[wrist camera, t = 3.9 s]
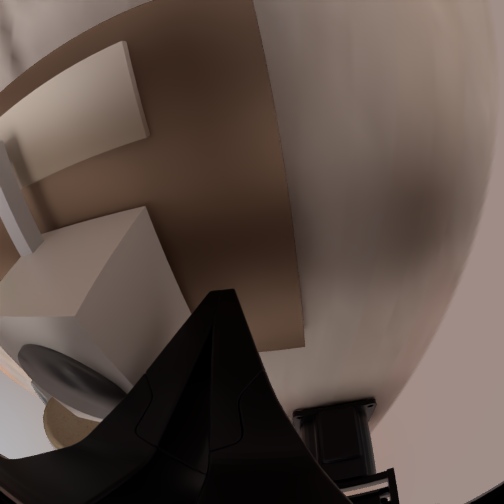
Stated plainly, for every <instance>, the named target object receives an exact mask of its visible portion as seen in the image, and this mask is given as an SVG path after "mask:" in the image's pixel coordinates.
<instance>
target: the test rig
mask: <svg viewBox="0 0 504 504" xmlns="http://www.w3.org/2000/svg"><path fill="white" fill-rule="evenodd" d="M2 140H3V142H4V145H5V149H6V152H7V155H8V158H9V161H10V163H11V166H12V169H13V172H14V174H15V177H16V180H17V182H18V185H19V187H20V190H21V192H22V194H23V197H24V199H25V201H26V204H27V206H28V208H29V210H30V212H31V215H32V217H33V219H34V221H35V223H36V225H37V227H38V229H39V231H40V233H41V234H43V233H47V232H50V231H53V230H57V229H60V228H63V227H67V226H70V225H74V224H77V223H81V222H84V221H88V220H91V219H95V218H99V217H103V216H106V215H110V214H114V213H118V212H122V211H126V210H130V209H134V208H139V207H143V206H146V209H147V211H148V214H149V217H150V219H151V222H152V224H153V227H154V229H155V232H156V234H157V237H158V239H159V242H160V244H161V247H162V249H163V251H164V254H165V256H166V259H167V261H168V263H169V266H170V268H171V270H172V273H173V275H174V277H175V279H176V282H177V284H178V286H179V288H180V291H181V293H182V295H183V297H184V299H185V301H186V304H187V306H188V308H189V310H190V312H191V314H192V313H193V311H194V310H195V309H196V308H197V306H198V305H199V304H200V303H201V301H202V300H203V299H204V298H205V296H206V295H207V294H208V293H209V292H210V291H213V290H223V289H231V288H234V289H235V291H236V293H237V296H238V299H239V302H240V304H241V307H242V310H243V313H244V315H245V318H246V321H247V323H248V326H249V329H250V332H251V334H252V337H253V340H254V342H255V345H256V347H257V350H258V352H264V351H274V350H283V349H291V348H299V347H305V338H304V326H303V315H302V304H301V294H300V284H299V275H298V266H297V257H296V248H295V240H294V232H293V224H292V217H291V209H290V202H289V195H288V188H287V181H286V174H285V167H284V161H283V154H282V148H281V142H280V136H279V130H278V124H277V118H276V112H275V107H274V101H273V96H272V91H271V85H270V80H269V75H268V70H267V65H266V60H265V55H264V50H263V45H262V41H261V36H260V32H259V27H258V23H257V18H256V14H255V10H254V5H253V1H252V0H153V1H150V2H147V3H145V4H142V5H140V6H137V7H135V8H133V9H130V10H128V11H126V12H123V13H121V14H119V15H117V16H115V17H112V18H110V19H108V20H106V21H104V22H102V23H100V24H98V25H96V26H95V27H93V28H91V29H89V30H87V31H85V32H84V33H82V34H80V35H78V36H77V37H75V38H73V39H72V40H70V41H68V42H67V43H65V44H63V45H62V46H60V47H59V48H57V49H56V50H54V51H53V52H51V53H50V54H48V55H47V56H45V57H44V58H43V59H41V60H40V61H38V62H37V63H36V64H34V65H33V66H32V67H30V68H29V69H28V70H26V71H25V72H24V73H23V74H21V75H20V76H19V77H18V78H16V79H15V80H14V81H13V82H12V83H10V84H9V85H8V86H7V87H6V88H5V89H4V90H2V91H1V92H0V141H2ZM20 257H21V256H20V254H19V252H18V250H17V249H16V247H15V245H14V243H13V241H12V239H11V237H10V235H9V233H8V232H7V230H6V228H5V225H4V223H3V221H2V219H1V217H0V281H1V280H2V279H3V278H4V276H5V275H6V274H7V273H8V271H9V270H10V269H11V268H12V267H13V265H14V264H15V263H16V262H17V261H18V260H19V258H20Z"/></svg>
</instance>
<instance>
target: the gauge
mask: <svg viewBox="0 0 504 504" xmlns="http://www.w3.org/2000/svg"><path fill="white" fill-rule="evenodd" d="M0 217H1V219H2V221H3V223H4V225H5V228H6V230H7V232H8V233H9V235H10V237H11V239H12V241H13V243H14V245H15V247H16V249H17V250H18V252H19V254H20V256H21V257H20V258H19V260H18V261H17V262H16V263H15V264H14V265H13V267H12V268H11V269H10V270H9V271H8V273H7V274H6V275H5V276H4V278H3V279H2V280H1V281H0V346H1V347H2V348H3V349H4V350H5V351H6V353H7V354H8V355H9V356H10V357H11V358H12V359H13V360H14V361H15V362H16V363H17V364H18V365H19V366H20V367H21V368H22V369H23V370H24V371H25V372H26V374H27V375H28V376H29V377H30V378H31V379H32V380H33V381H34V382H35V383H36V384H37V385H38V386H40V387H41V388H42V389H43V390H45V391H46V392H47V393H49V394H50V395H51V396H52V397H53V398H55V399H56V400H57V401H58V402H59V403H61V404H62V405H63V406H64V407H66V408H67V409H68V410H70V411H71V412H72V413H73V414H75V415H76V416H77V417H81V418H85V419H89V420H93V421H98V422H101V421H102V420H103V419H104V418H105V417H106V416H107V415H108V414H109V413H110V412H111V411H112V410H113V409H114V408H115V407H116V406H117V405H118V404H119V403H120V401H121V400H122V399H123V398H124V397H125V396H126V395H127V394H128V393H129V391H130V390H131V389H132V388H133V387H134V385H135V384H136V383H137V382H138V380H139V379H140V378H141V377H142V375H143V374H146V370H147V369H148V368H149V367H150V365H151V364H152V363H153V362H154V360H155V359H156V358H157V357H158V355H159V354H160V353H161V352H162V350H163V349H164V348H165V346H166V345H167V344H168V343H169V341H170V340H171V339H172V338H173V336H174V335H175V334H176V333H177V331H178V330H179V329H180V328H181V326H182V325H183V324H184V323H185V321H186V320H187V319H188V318H189V316H190V315H191V312H190V310H189V308H188V306H187V304H186V301H185V299H184V297H183V295H182V293H181V291H180V288H179V286H178V284H177V282H176V279H175V277H174V275H173V273H172V270H171V268H170V266H169V263H168V261H167V259H166V256H165V254H164V251H163V249H162V247H161V244H160V242H159V239H158V237H157V234H156V232H155V229H154V227H153V224H152V222H151V219H150V217H149V214H148V211H147V209H146V206H143V207H139V208H134V209H130V210H126V211H122V212H118V213H114V214H110V215H106V216H103V217H99V218H95V219H91V220H88V221H84V222H81V223H77V224H74V225H70V226H67V227H63V228H60V229H57V230H53V231H50V232H47V233H43V234H41V233H40V231H39V229H38V227H37V225H36V223H35V221H34V219H33V217H32V215H31V212H30V210H29V208H28V206H27V204H26V201H25V199H24V197H23V194H22V192H21V190H20V187H19V185H18V182H17V180H16V177H15V174H14V172H13V169H12V166H11V163H10V161H9V158H8V155H7V152H6V149H5V145H4V142H3V140H2V141H0Z"/></svg>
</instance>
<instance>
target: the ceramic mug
mask: <svg viewBox="0 0 504 504" xmlns="http://www.w3.org/2000/svg"><path fill="white" fill-rule="evenodd" d="M31 385H32V387H33V388H34V390H35V391H36V393H37V395H38V396H39V397H40V399H41V400H42V401H43V403H44V404H45V405H46V407H45V410H44V416H43V422H44V429H45V432H46V435H47V437H48V439H49V441H50V443H51V445H52V446H53V448H54V449H55V450H57V449H61V448H64V447H68V446H71V445H73V444H76V443H78V442H79V441H81V440H82V439H84V438H85V437H86V436H87V435H88V434H89V433H91V431H92V430H93V429H94V428H95V427H96V426H97V425H98V424H99V423H100V422H98V421H93V420H89V419H85V418H81V417H77V416H76V415H75V414H73V413H72V412H71V411H70V410H68V409H67V408H66V407H64V406H63V405H62V404H61V403H59V402H58V401H57V400H56V399H55V398H53V397H52V396H51V395H50V394H49V393H47V392H46V391H45V390H43V389H42V388H41V387H40V386H38V385H37V384H36V383H35V382H34V381H33V380H32V381H31Z"/></svg>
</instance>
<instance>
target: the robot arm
mask: <svg viewBox="0 0 504 504" xmlns="http://www.w3.org/2000/svg"><path fill="white" fill-rule="evenodd" d="M375 407H376V400H375V399H369V400H364V401H360V402H355V403H349V404H344V405H338V406H332V407H326V408H319V409H312V410H304V411H297V412H294V413H293V421H294V426H293V424H292V423H291V421H290V420H289V418H288V416H287V415H286V413H285V411H284V410H283V408H282V406H281V404H280V402H279V401H278V399H277V397H276V395H275V392H274V390H273V388H272V386H271V383H270V381H269V378H268V376H267V373H266V372H265V368H264V366H263V363H262V361H261V358H260V355H259V353H258V350H257V347H256V345H255V342H254V340H253V337H252V334H251V332H250V329H249V326H248V323H247V321H246V318H245V315H244V313H243V310H242V307H241V304H240V302H239V299H238V296H237V293H236V291H235V289H234V288H231V289H223V290H213V291H210V292H209V293H208V294H207V295H206V296H205V298H204V299H203V300H202V301H201V303H200V304H199V305H198V306H197V308H196V309H195V310H194V311H193V313H192V314H191V315H190V316H189V318H188V319H187V320H186V321H185V323H184V324H183V325H182V326H181V328H180V329H179V330H178V331H177V333H176V334H175V335H174V336H173V338H172V339H171V340H170V341H169V343H168V344H167V345H166V346H165V348H164V349H163V350H162V352H161V353H160V354H159V355H158V357H157V358H156V359H155V360H154V362H153V363H152V364H151V365H150V367H149V368H148V369H147V370H146V374H143V375H142V377H141V378H140V379H139V380H138V382H137V383H136V384H135V385H134V387H133V388H132V389H131V390H130V391H129V393H128V394H127V395H126V396H125V397H124V398H123V399H122V400H121V401H120V403H119V404H118V405H117V406H116V407H115V408H114V409H113V410H112V411H111V412H110V413H109V414H108V415H107V416H106V417H105V418H104V419H103V420H102V421H101V422H100V423H99V424H98V425H97V426H96V427H95V428H94V429H93V430H92V431H91V433H89V434H88V435H87V436H86V437H85V438H84V439H82V440H81V441H79V442H78V443H76V444H73V445H71V446H68V447H64V448H61V449H57V450H54V451H50V452H46V453H42V454H38V455H34V456H30V457H25V458H20V459H8V458H7V457H5V456H3V455H1V454H0V504H399V498H398V491H397V485H396V479H395V473H394V468H390V469H387V471H384V472H381V473H377V474H376V469H375V461H374V455H373V448H372V443H371V437H370V431H369V426H368V421H369V419H370V417H371V415H372V413H373V411H374V409H375ZM294 427H295V428H294ZM384 482H388V486H387V487H384V488H380V489H377V490H373V491H369V492H365V493H360V494H356V495H352V496H346V495H345V494H343V492H347V491H352V490H357V489H361V488H365V487H369V486H373V485H377V484H381V483H384ZM387 497H390V501H388V499H387ZM465 504H504V481H503V482H502V483H500V484H498V485H497V486H495V487H493V488H492V489H490V490H489V491H487V492H485V493H483V494H482V495H480V496H478V497H476V498H474V499H473V500H471V501H469V502H467V503H465Z"/></svg>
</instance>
